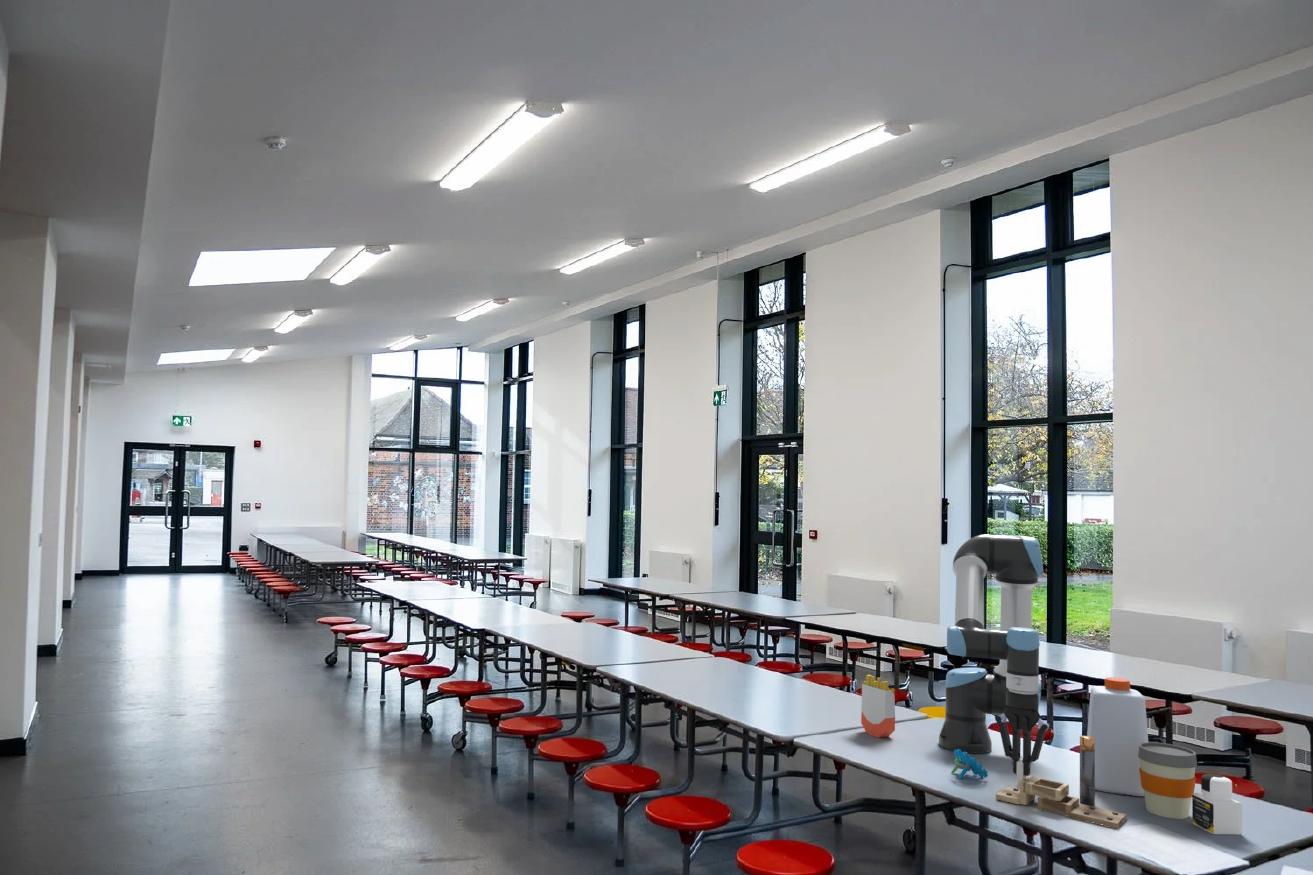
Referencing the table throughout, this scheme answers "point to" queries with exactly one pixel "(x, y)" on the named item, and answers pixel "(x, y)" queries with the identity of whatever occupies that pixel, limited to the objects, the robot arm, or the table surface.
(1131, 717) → the plastic bottle
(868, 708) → the french fries container
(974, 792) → the table surface
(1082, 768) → the pin
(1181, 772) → the reusable coffee cup
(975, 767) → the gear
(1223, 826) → the medicine bottle
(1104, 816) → the wooden mounting plate
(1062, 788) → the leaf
